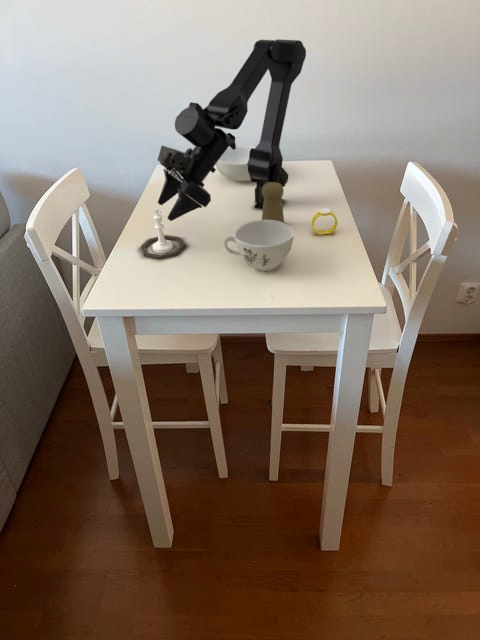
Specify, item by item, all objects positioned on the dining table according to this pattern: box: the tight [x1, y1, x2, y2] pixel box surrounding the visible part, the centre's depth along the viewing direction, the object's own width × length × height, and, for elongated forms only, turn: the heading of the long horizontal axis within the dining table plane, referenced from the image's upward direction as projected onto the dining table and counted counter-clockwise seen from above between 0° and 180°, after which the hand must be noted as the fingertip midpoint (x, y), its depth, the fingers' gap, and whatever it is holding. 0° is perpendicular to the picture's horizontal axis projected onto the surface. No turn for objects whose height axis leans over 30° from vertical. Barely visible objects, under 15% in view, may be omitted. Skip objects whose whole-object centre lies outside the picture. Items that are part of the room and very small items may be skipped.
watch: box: [311, 207, 339, 236], centre depth 111 cm, size 6×3×6 cm, turn 91°
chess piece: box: [152, 207, 174, 254], centre depth 108 cm, size 5×5×10 cm
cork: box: [261, 182, 285, 223], centre depth 114 cm, size 6×6×11 cm
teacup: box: [223, 219, 295, 272], centre depth 101 cm, size 15×12×8 cm
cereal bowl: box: [215, 145, 256, 183], centre depth 142 cm, size 17×17×7 cm
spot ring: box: [139, 234, 186, 260], centre depth 111 cm, size 10×10×1 cm
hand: (164, 211), depth 106 cm, fingers open, 9 cm apart
